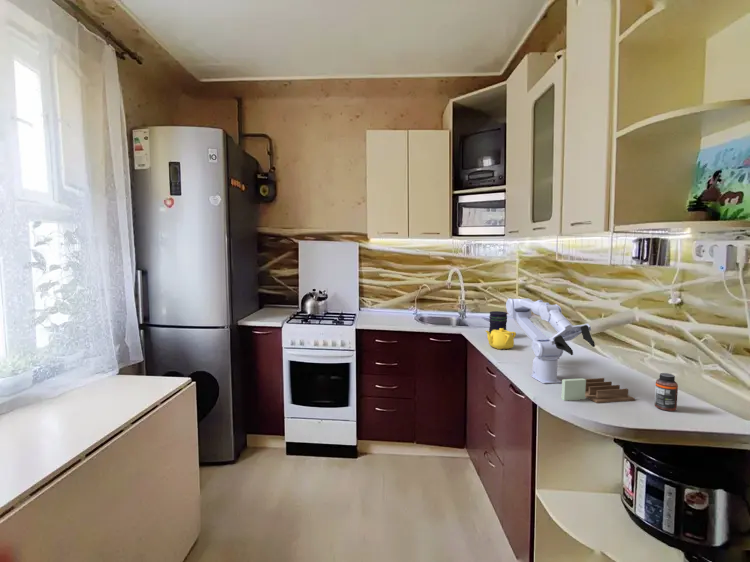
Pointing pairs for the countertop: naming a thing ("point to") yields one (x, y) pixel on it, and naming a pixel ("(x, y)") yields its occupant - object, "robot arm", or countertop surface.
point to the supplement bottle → (666, 392)
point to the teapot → (501, 338)
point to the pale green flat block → (573, 389)
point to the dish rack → (605, 391)
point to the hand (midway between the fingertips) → (582, 348)
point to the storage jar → (497, 320)
